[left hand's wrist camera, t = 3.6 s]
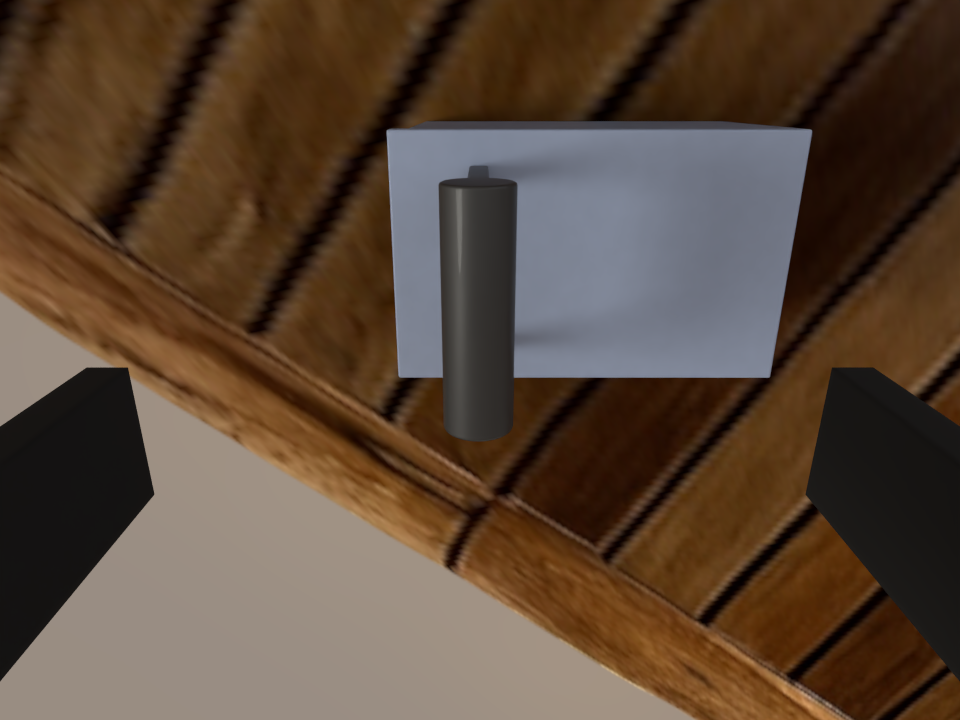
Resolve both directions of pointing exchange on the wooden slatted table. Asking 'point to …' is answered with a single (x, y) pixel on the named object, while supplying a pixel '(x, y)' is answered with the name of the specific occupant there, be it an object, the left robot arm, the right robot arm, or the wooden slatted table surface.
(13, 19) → the wooden slatted table surface
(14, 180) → the wooden slatted table surface
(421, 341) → the lid
